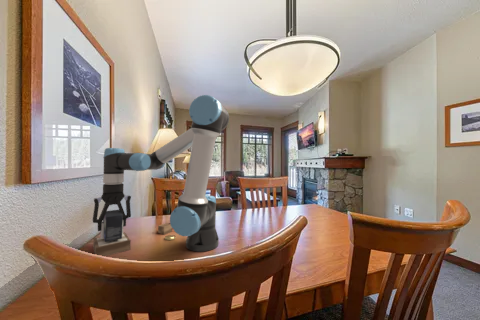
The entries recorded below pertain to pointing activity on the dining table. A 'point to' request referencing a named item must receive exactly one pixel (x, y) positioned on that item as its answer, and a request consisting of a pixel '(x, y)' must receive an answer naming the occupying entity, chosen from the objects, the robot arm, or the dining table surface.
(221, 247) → the dining table surface
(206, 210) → the robot arm
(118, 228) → the small box
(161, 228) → the walnut block
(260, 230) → the dining table surface
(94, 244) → the plinth
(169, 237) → the brass disc
